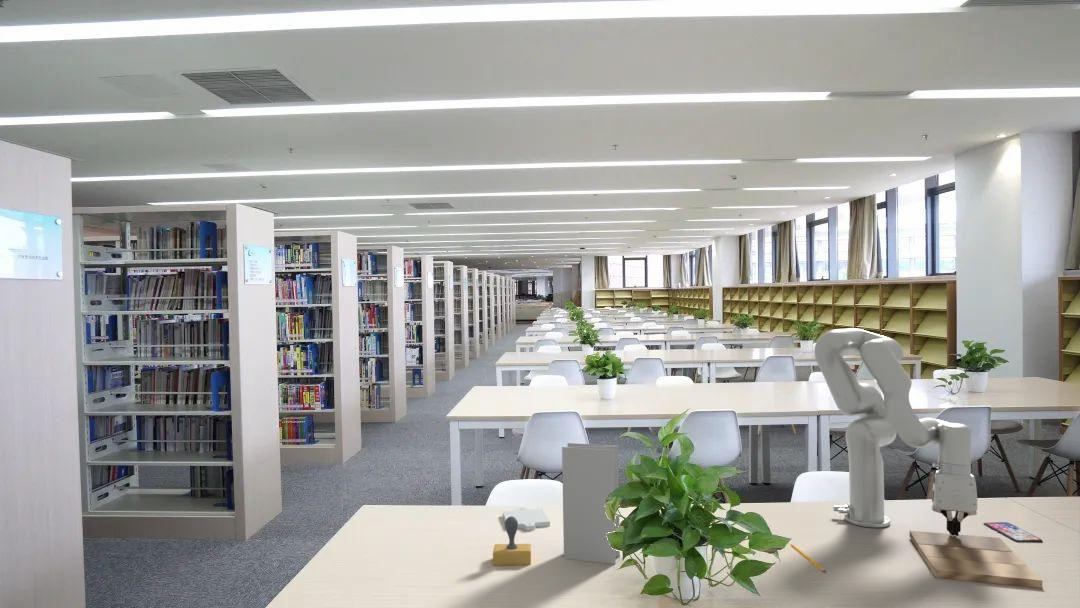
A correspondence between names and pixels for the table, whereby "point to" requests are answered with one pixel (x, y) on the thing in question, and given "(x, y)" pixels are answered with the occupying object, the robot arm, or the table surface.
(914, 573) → the table surface
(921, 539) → the walnut plank
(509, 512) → the mounting plate
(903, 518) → the table surface
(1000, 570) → the laid floor
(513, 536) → the rubber stamp
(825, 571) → the pencil
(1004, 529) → the smartphone
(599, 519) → the brochure
